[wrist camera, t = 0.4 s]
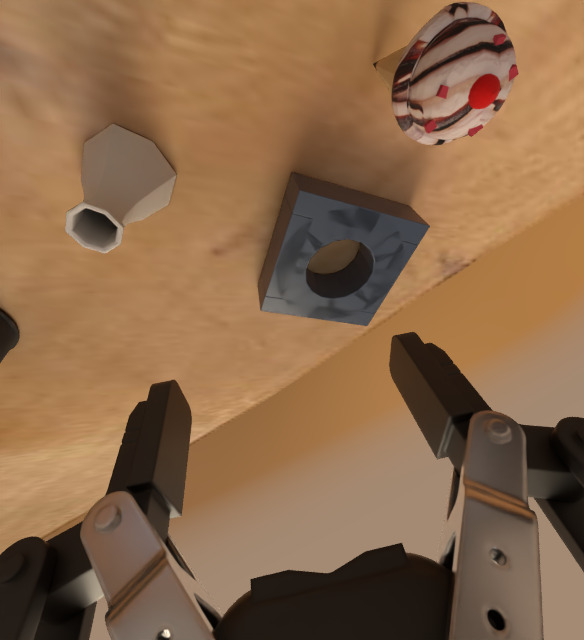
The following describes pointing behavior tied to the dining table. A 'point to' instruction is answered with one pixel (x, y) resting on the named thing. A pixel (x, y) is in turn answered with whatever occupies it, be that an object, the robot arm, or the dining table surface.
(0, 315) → the milk frother
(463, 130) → the ice cream cone
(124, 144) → the flask
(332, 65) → the dining table surface
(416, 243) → the cone stand
